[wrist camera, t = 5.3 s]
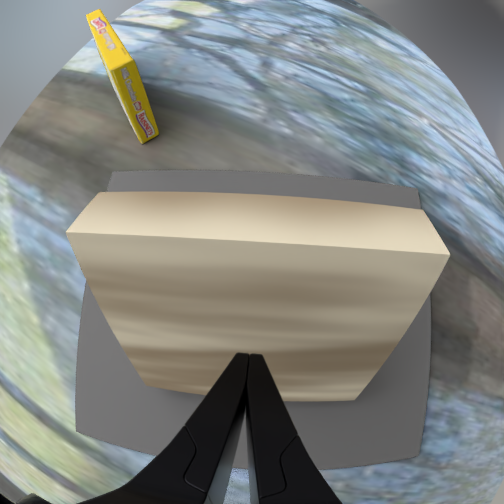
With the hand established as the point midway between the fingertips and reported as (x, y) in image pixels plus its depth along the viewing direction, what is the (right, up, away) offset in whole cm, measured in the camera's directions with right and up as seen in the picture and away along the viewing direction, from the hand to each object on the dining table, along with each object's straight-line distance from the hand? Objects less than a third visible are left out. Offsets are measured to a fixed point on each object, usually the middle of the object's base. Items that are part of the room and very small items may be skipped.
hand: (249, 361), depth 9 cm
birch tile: (0, -4, +7) cm, 8 cm away
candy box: (-12, +19, +16) cm, 28 cm away
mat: (0, 0, +9) cm, 9 cm away
